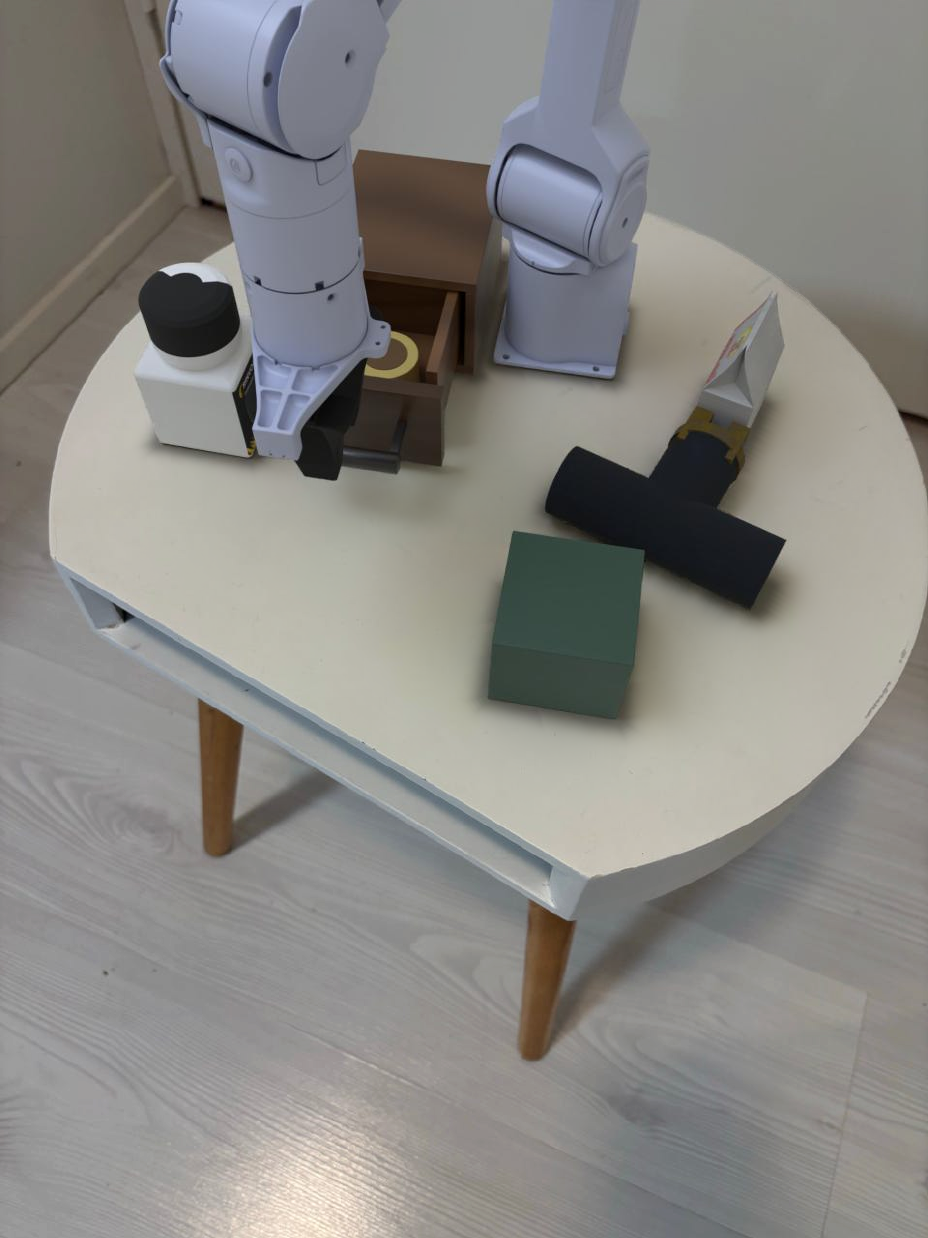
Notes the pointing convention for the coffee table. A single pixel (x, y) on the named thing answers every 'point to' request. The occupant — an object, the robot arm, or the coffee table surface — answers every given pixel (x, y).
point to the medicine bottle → (196, 360)
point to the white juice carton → (745, 368)
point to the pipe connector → (673, 509)
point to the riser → (566, 624)
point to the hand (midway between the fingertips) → (330, 446)
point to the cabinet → (430, 232)
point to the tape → (396, 360)
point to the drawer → (403, 410)
